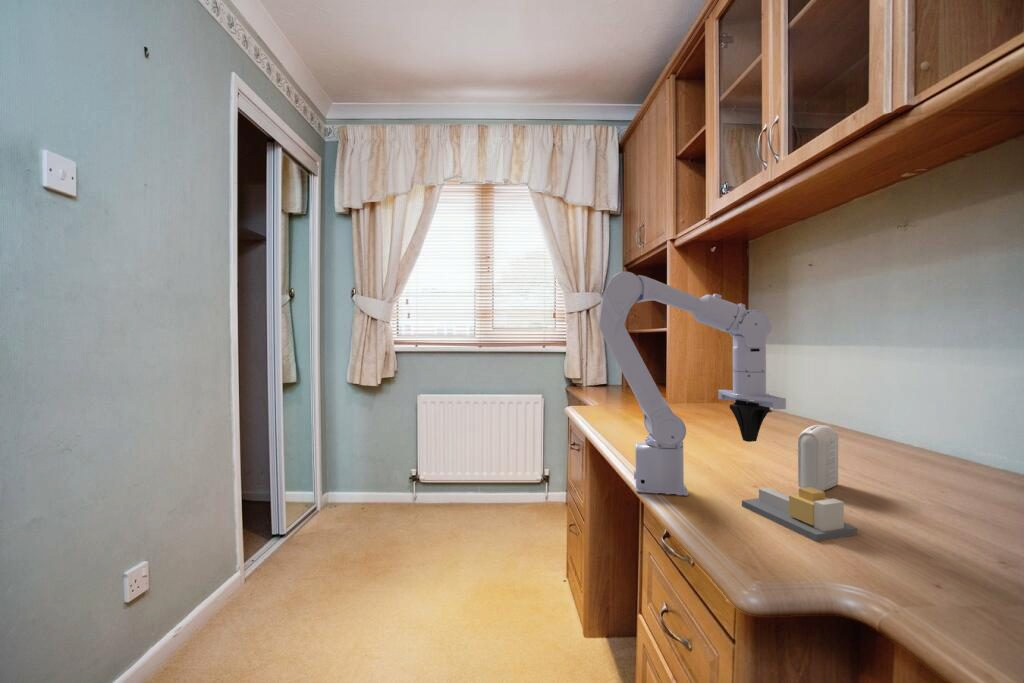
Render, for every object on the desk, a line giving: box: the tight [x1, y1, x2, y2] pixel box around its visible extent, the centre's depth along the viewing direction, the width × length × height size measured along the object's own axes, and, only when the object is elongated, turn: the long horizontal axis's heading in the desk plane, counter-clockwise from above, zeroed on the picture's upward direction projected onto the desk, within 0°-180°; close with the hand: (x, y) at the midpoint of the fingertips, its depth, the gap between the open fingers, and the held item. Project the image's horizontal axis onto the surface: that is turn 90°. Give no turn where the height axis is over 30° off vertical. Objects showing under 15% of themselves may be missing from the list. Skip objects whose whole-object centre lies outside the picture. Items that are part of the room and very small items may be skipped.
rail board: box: [741, 487, 858, 542], centre depth 71 cm, size 14×8×5 cm, turn 15°
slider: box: [788, 487, 828, 526], centre depth 68 cm, size 4×5×4 cm
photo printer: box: [797, 424, 839, 492], centre depth 86 cm, size 10×4×12 cm, turn 123°
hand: (749, 440), depth 84 cm, fingers closed
